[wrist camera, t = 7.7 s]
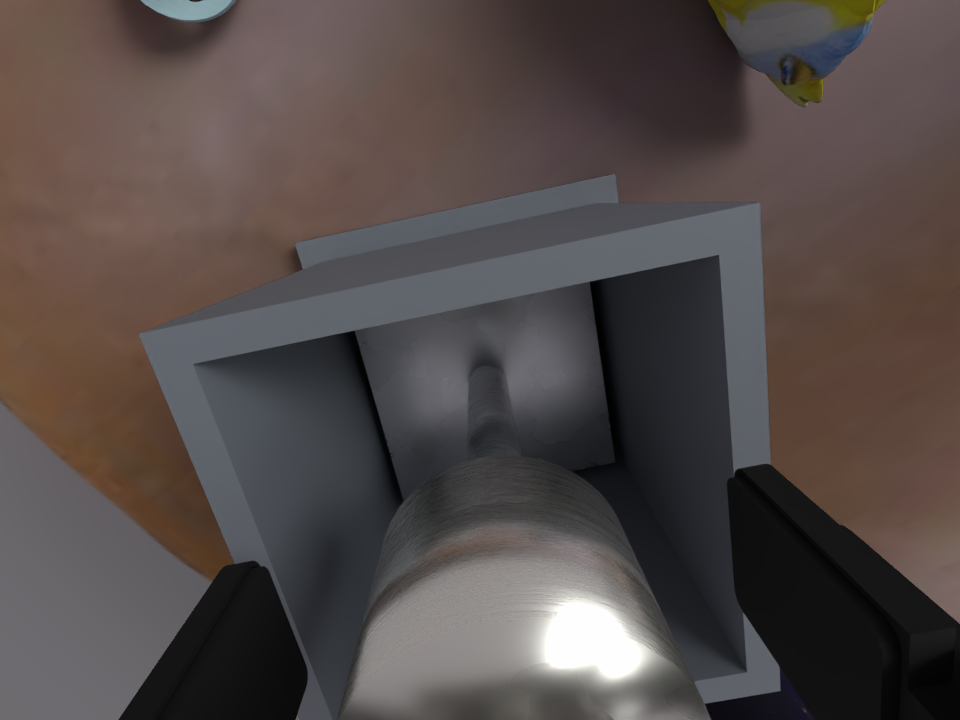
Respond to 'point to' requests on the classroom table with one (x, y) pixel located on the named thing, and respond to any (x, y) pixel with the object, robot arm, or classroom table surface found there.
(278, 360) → the press housing
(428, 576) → the plunger
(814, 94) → the tropical fish figurine
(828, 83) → the classroom table surface
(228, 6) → the pacifier
